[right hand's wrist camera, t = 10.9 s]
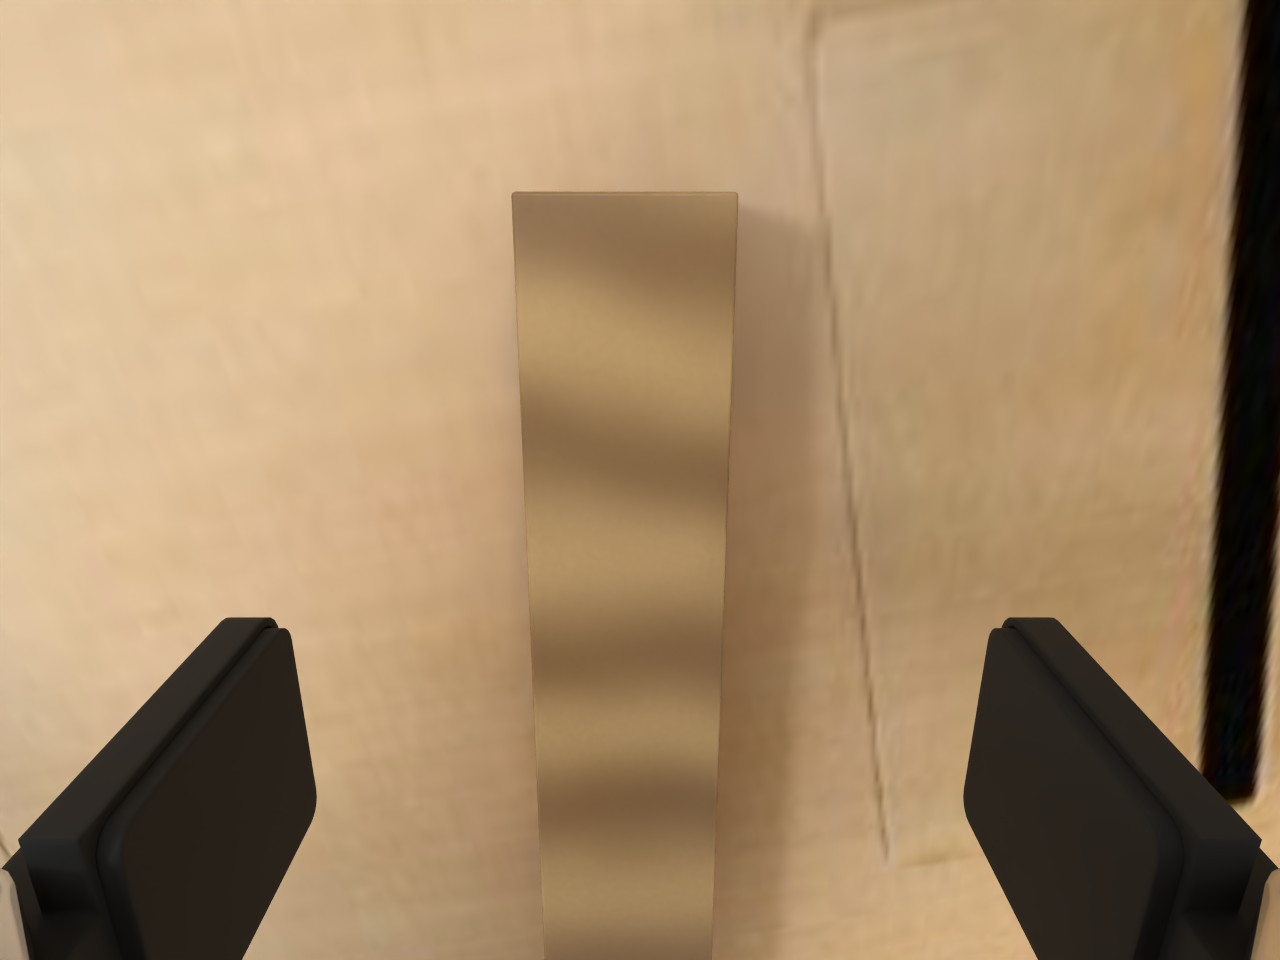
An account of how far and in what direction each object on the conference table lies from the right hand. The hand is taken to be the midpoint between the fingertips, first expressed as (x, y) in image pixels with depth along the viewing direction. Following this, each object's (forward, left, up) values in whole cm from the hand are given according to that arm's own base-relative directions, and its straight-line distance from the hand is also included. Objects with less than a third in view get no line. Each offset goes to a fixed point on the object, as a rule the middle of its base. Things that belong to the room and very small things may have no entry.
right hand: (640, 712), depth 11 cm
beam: (+9, +16, -19) cm, 26 cm away
